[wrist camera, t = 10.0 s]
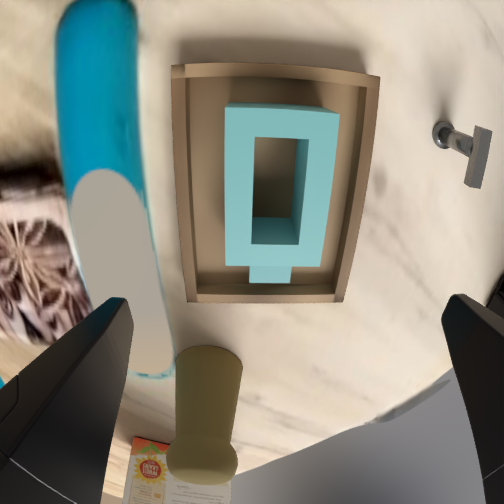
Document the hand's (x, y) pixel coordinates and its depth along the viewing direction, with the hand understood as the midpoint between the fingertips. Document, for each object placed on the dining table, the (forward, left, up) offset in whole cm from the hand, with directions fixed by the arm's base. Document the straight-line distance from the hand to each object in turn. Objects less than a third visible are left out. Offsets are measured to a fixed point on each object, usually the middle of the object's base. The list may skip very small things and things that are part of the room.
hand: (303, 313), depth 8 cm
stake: (-11, -3, -12) cm, 17 cm away
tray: (0, +1, -12) cm, 12 cm away
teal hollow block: (0, 0, -11) cm, 11 cm away
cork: (+4, +18, -12) cm, 22 cm away
